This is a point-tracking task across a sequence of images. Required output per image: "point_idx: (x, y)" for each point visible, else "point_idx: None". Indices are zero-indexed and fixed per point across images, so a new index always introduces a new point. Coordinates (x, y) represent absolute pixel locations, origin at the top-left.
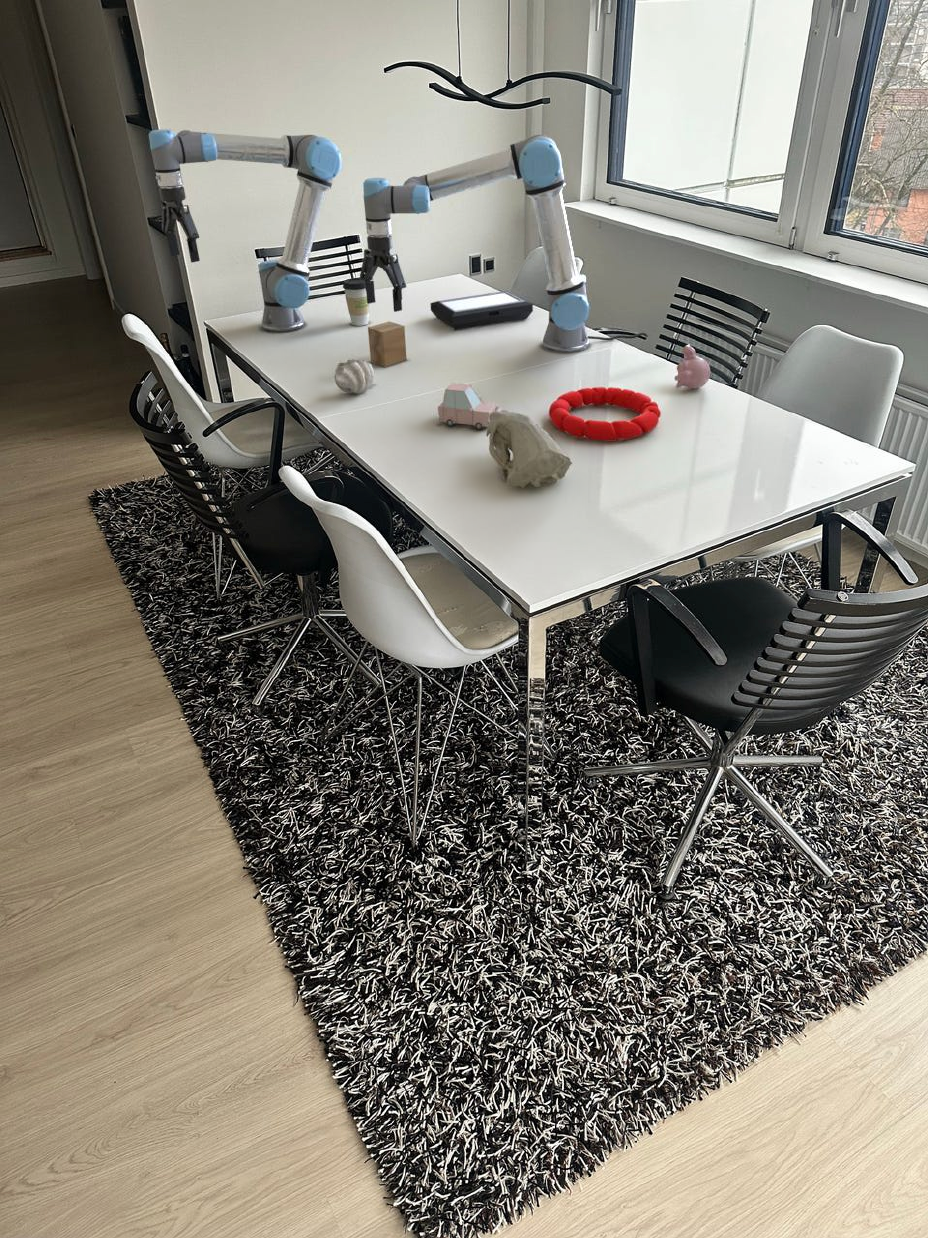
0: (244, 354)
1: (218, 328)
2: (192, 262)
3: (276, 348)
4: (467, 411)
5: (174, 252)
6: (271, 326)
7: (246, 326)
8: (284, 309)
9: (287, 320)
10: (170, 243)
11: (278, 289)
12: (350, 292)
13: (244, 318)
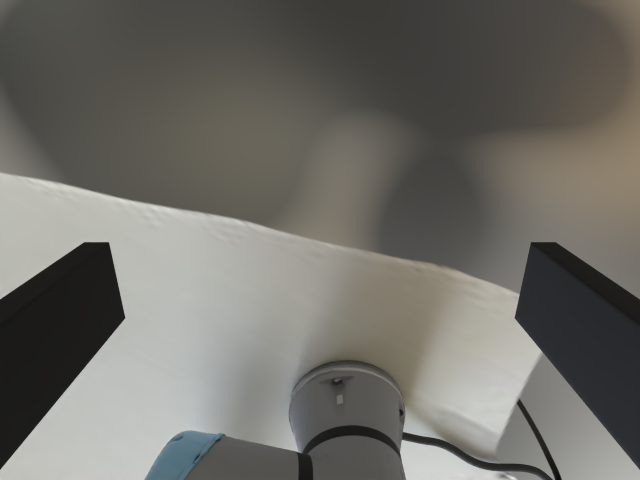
0: (193, 215)
1: (485, 289)
2: (83, 243)
3: (182, 302)
4: None
5: (536, 287)
6: (323, 375)
7: (430, 347)
8: (303, 441)
9: (294, 416)
10: (613, 322)
11: (150, 473)
12: None
13: (499, 379)
